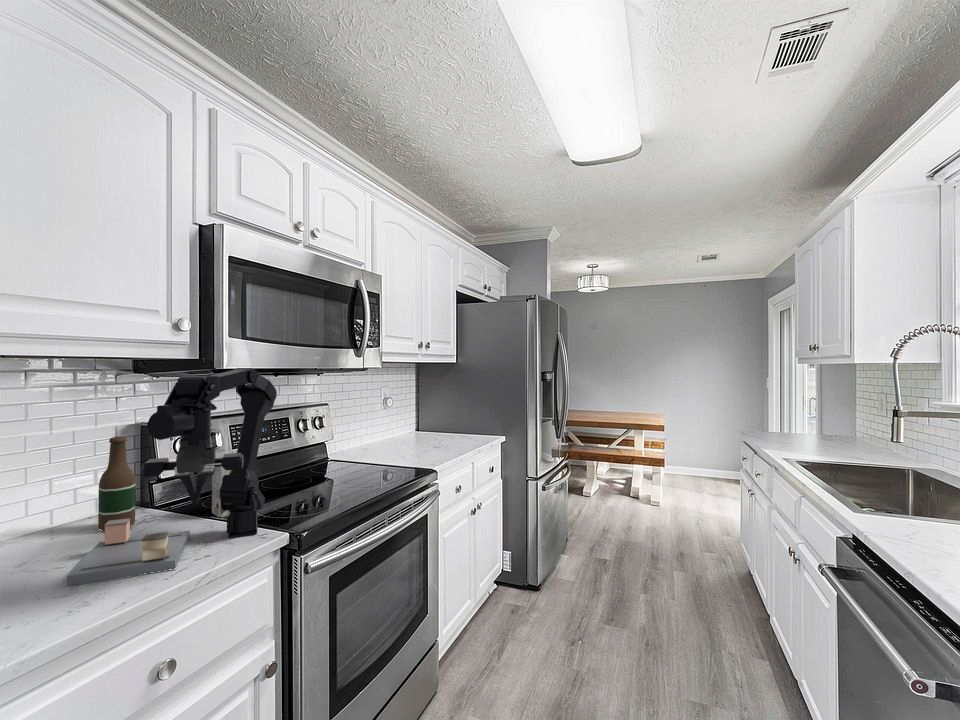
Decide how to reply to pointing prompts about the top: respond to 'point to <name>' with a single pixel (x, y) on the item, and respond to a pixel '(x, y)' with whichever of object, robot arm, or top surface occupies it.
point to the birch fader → (154, 546)
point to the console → (125, 560)
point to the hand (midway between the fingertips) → (195, 503)
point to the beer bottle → (116, 486)
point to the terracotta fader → (117, 531)
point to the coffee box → (216, 487)
